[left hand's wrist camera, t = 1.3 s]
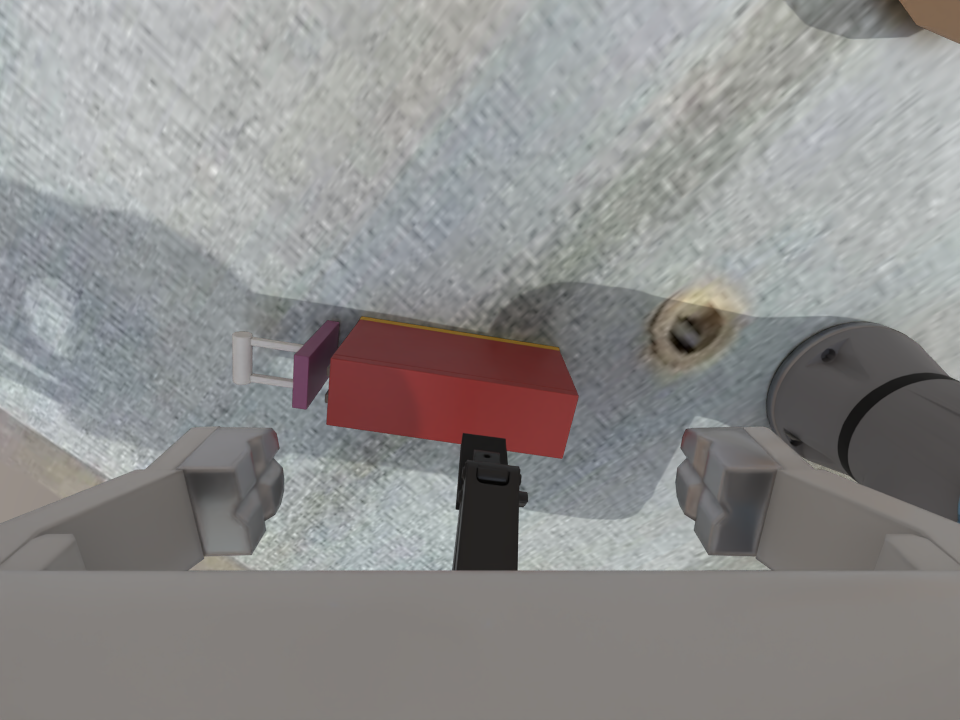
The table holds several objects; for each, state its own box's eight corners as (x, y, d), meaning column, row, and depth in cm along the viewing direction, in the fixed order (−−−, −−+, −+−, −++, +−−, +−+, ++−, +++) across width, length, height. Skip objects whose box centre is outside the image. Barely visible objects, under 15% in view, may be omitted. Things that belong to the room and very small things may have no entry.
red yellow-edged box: (357, 371, 52) (325, 425, 41) (361, 316, 50) (330, 357, 39) (546, 400, 53) (562, 459, 43) (558, 347, 51) (579, 395, 41)
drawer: (262, 355, 50) (216, 396, 42) (263, 310, 49) (215, 342, 40) (507, 392, 52) (513, 440, 43) (516, 349, 50) (524, 389, 41)
